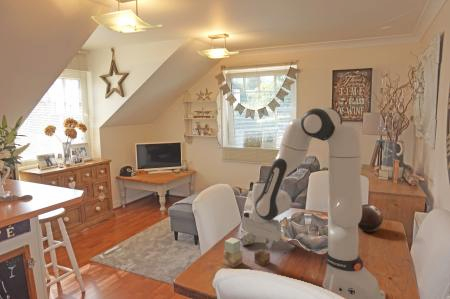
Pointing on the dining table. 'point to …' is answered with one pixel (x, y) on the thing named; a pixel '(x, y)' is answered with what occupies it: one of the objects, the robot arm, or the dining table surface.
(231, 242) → the sage block
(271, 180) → the robot arm
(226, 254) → the oak base block
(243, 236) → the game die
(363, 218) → the wooden sphere
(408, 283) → the dining table surface
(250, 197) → the milk
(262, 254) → the walnut block
